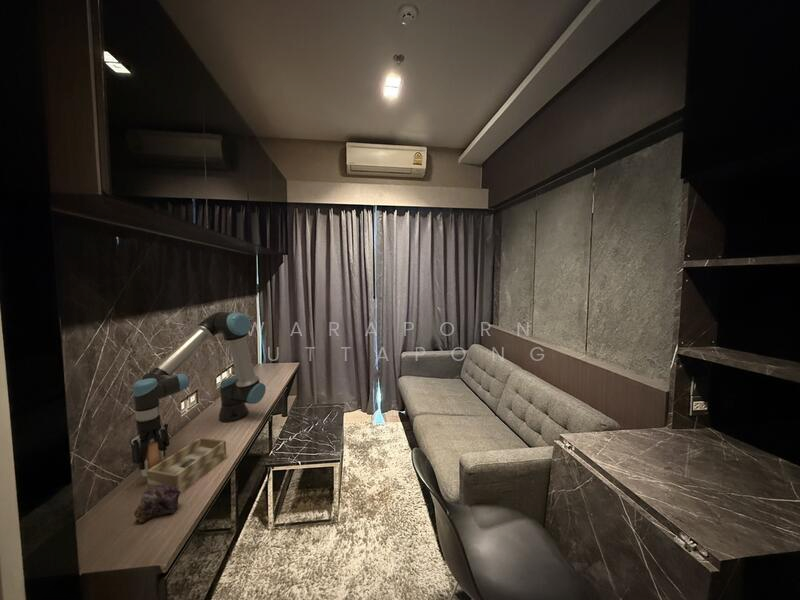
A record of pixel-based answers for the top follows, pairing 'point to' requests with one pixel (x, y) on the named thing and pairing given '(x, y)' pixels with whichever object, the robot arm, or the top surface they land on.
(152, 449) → the peg
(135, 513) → the rock
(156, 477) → the box
